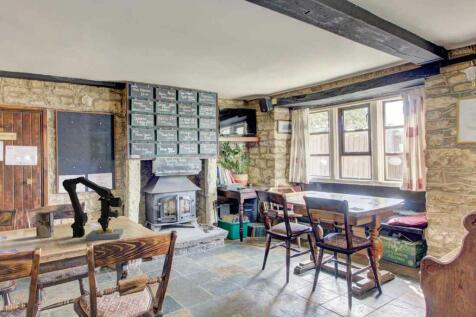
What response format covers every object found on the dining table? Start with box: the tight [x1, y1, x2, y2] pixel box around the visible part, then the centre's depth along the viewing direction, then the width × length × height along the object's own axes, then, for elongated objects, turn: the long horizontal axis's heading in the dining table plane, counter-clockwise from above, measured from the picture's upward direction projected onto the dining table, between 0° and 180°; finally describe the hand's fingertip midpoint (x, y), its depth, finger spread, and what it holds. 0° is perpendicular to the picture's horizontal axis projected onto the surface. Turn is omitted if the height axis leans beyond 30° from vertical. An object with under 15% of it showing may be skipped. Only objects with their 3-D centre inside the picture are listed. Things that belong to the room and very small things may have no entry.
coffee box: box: [35, 211, 55, 239], centre depth 215 cm, size 9×6×16 cm
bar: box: [97, 227, 115, 234], centre depth 214 cm, size 9×4×4 cm, turn 96°
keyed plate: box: [86, 228, 124, 241], centre depth 214 cm, size 20×16×3 cm
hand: (105, 230), depth 214 cm, fingers open, 6 cm apart
